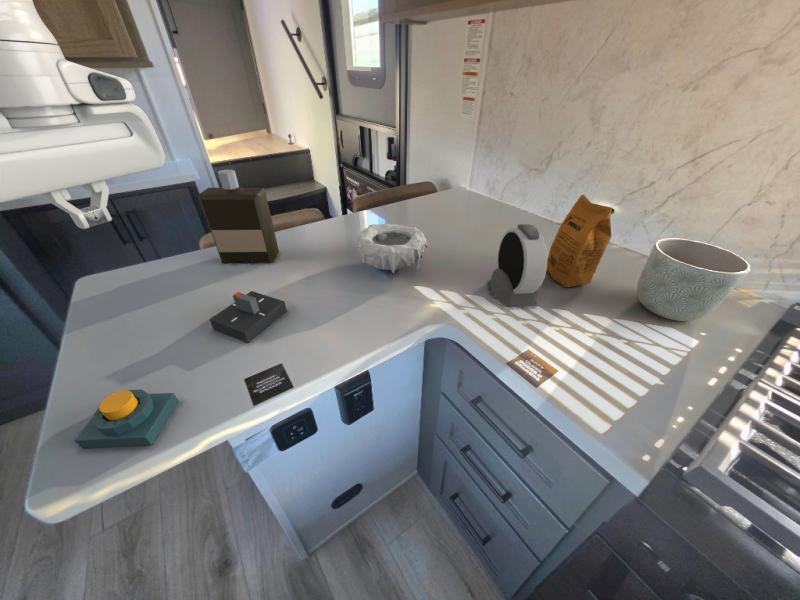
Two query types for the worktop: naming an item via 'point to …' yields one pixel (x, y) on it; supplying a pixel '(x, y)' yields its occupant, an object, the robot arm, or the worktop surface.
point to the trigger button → (118, 405)
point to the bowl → (391, 246)
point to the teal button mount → (130, 423)
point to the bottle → (239, 221)
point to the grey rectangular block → (246, 303)
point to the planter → (688, 278)
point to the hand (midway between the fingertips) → (95, 224)
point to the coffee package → (580, 243)
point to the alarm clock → (519, 266)
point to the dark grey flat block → (248, 318)
